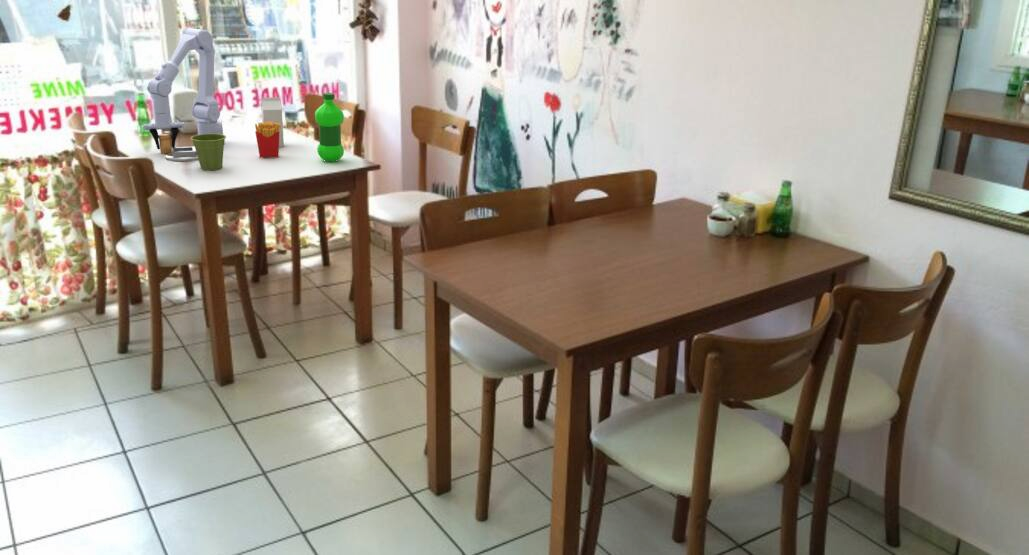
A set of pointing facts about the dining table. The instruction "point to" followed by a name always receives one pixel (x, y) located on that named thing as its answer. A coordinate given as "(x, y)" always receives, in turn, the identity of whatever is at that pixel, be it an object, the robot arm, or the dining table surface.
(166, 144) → the pin
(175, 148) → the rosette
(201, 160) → the plant pot
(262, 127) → the french fries
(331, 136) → the plastic bottle
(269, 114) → the milk carton
